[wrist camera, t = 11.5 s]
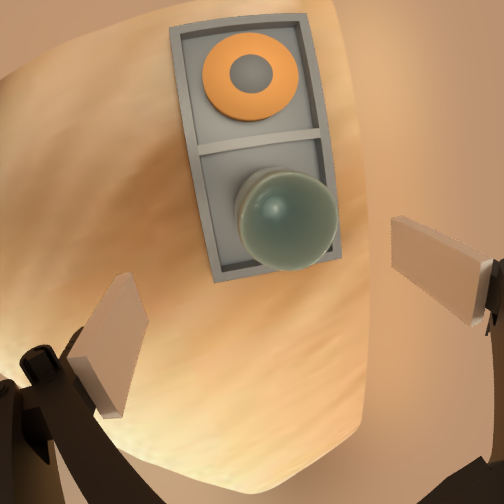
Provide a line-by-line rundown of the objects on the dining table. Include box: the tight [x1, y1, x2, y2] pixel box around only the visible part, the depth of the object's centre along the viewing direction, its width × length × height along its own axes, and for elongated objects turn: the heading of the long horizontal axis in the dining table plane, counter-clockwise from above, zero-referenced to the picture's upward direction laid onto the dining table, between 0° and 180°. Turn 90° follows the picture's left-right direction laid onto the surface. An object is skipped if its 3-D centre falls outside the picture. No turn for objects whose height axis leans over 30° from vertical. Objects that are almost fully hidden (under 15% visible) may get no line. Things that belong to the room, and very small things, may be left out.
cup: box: [234, 167, 339, 271], centre depth 28 cm, size 8×8×10 cm
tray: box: [169, 13, 342, 283], centre depth 30 cm, size 27×14×2 cm, turn 9°
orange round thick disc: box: [202, 33, 299, 122], centre depth 27 cm, size 9×9×3 cm
